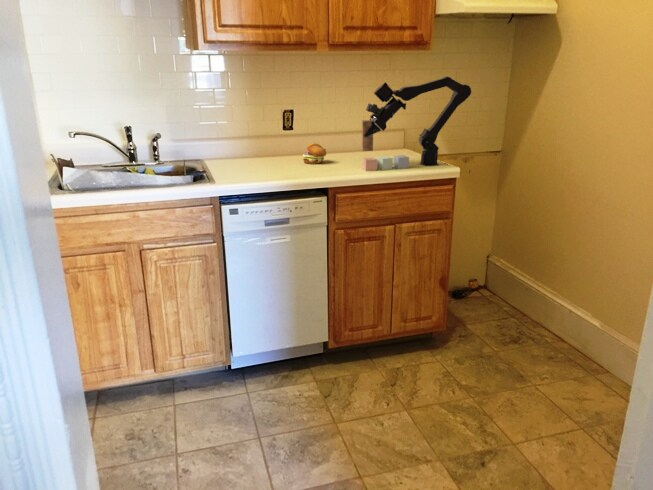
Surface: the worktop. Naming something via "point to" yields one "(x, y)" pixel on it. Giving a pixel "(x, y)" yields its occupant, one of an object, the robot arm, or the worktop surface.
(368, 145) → the walnut block
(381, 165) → the sage cube
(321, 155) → the cheeseburger
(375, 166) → the terracotta cube
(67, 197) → the worktop surface
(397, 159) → the slate cube
